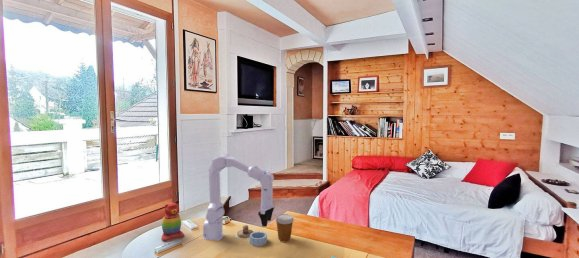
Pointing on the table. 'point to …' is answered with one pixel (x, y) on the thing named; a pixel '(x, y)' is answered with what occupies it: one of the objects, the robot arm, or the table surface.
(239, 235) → the lid
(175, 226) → the stacking bear
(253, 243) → the bowl
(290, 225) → the disposable coffee cup
